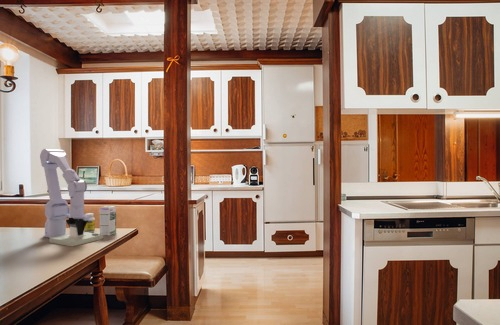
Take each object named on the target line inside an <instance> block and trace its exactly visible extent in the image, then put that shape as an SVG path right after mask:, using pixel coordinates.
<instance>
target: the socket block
mask: <svg viewBox="0 0 500 325" xmlns="http://www.w3.org/2000/svg"><path fill="white" fill-rule="evenodd" d="M103 239H104V235H102V234H100V233H95V232H92V233H89V232H84V236H83V237H79V238H70V233H66V235H61V236H57V237H52V238H49V243H51V244H55V245H56V244H57V245H61V246H62V245H63V246H69V247H75V246H80V245H83V244H84V245H85V244H87V243H91V242H95V241H99V240H103Z"/></svg>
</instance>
